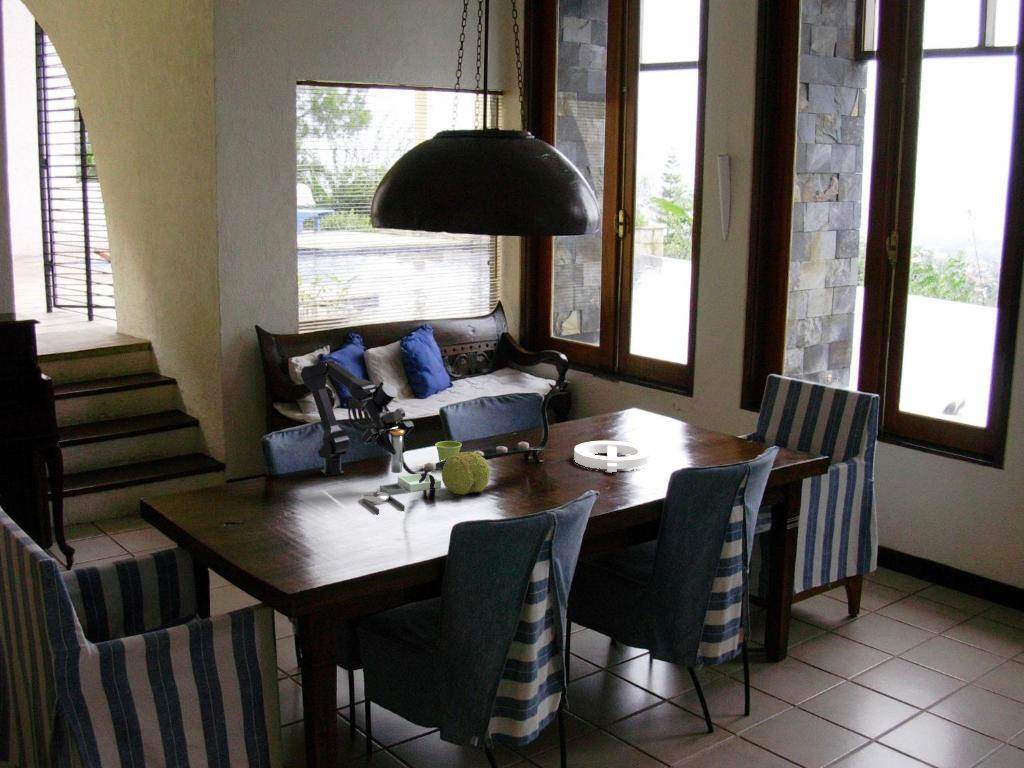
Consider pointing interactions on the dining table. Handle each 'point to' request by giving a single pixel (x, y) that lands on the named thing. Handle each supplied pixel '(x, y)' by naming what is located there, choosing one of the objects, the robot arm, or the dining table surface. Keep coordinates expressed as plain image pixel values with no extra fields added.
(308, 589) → the dining table surface
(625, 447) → the ring with crossbar
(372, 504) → the grey forked bracket
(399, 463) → the lock pin
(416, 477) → the tray
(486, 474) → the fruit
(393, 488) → the tensioner base
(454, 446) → the plant pot
